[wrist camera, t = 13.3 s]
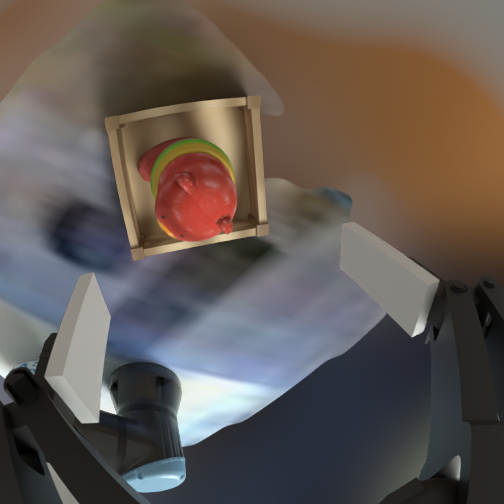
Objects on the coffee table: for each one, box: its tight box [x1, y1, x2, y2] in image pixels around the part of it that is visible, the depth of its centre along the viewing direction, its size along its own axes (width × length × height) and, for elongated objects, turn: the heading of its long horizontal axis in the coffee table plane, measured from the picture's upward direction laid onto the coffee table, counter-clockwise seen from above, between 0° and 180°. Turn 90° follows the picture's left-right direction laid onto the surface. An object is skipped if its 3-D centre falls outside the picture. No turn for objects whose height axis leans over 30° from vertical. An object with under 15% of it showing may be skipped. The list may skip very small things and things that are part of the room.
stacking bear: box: [138, 137, 237, 242], centre depth 29 cm, size 11×10×18 cm
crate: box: [104, 96, 269, 261], centre depth 36 cm, size 18×18×5 cm
